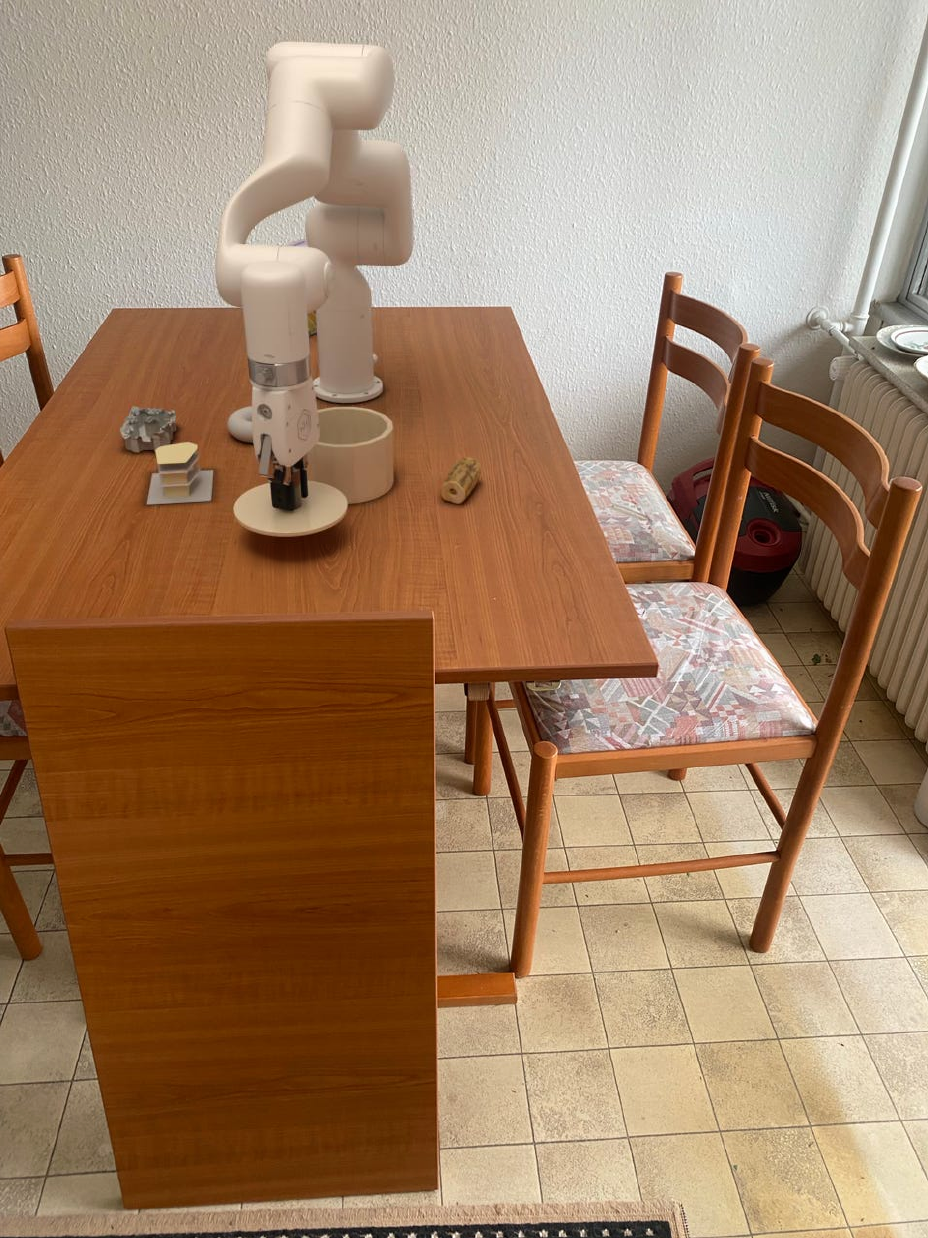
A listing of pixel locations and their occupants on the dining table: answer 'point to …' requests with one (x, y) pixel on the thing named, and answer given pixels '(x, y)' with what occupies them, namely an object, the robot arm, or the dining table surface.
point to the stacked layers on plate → (179, 476)
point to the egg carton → (148, 428)
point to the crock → (353, 453)
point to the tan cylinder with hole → (461, 480)
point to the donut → (241, 424)
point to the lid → (307, 518)
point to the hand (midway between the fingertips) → (290, 500)
